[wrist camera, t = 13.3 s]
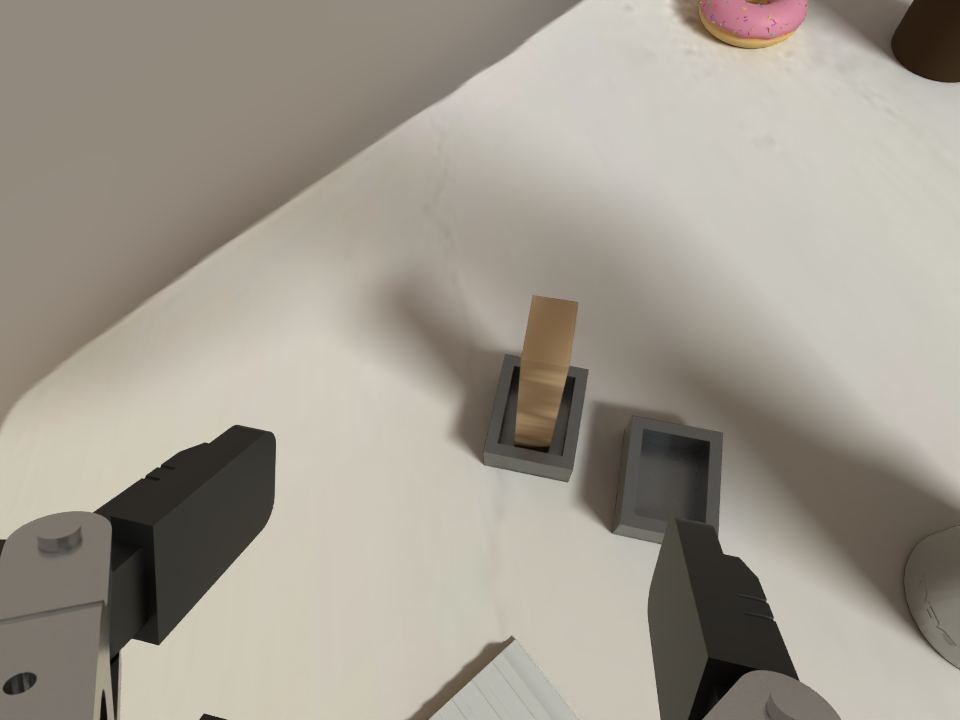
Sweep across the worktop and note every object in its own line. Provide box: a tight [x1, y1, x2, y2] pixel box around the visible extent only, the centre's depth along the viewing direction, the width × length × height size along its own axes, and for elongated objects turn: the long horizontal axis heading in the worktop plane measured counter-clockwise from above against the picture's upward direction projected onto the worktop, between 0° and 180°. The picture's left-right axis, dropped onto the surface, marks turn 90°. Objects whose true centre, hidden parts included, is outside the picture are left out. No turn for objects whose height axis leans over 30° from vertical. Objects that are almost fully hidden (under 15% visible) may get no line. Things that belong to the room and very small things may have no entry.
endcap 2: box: [612, 416, 723, 544], centre depth 42 cm, size 6×8×3 cm
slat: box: [514, 295, 578, 453], centre depth 39 cm, size 2×4×14 cm, turn 169°
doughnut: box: [698, 0, 809, 48], centre depth 64 cm, size 11×11×4 cm
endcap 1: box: [483, 354, 588, 482], centre depth 44 cm, size 6×8×3 cm
